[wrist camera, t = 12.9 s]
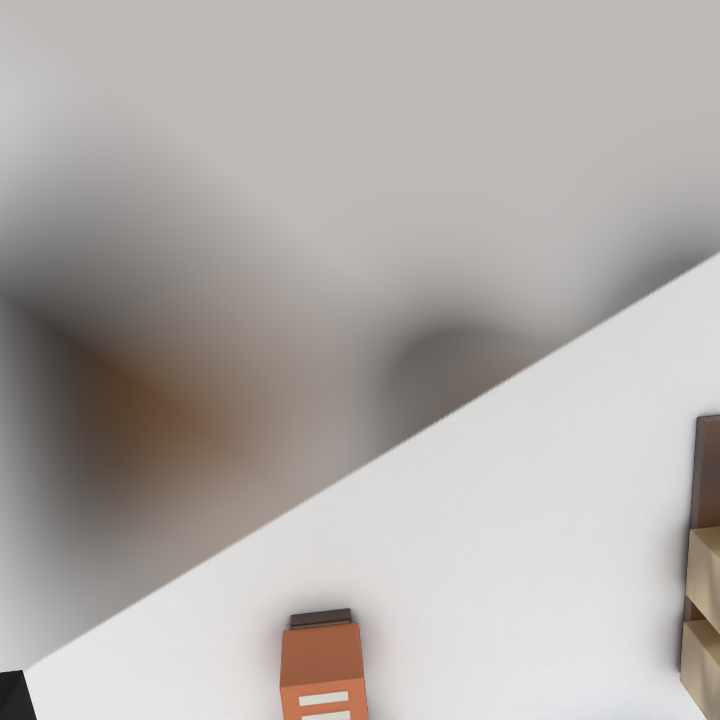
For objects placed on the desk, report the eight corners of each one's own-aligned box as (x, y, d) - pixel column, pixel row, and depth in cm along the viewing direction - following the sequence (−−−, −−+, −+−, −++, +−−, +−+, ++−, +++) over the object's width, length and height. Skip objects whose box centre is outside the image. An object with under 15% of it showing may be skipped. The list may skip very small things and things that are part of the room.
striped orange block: (282, 630, 40) (279, 689, 36) (358, 621, 41) (364, 679, 36) (291, 692, 42) (289, 755, 37) (364, 683, 42) (371, 745, 37)
